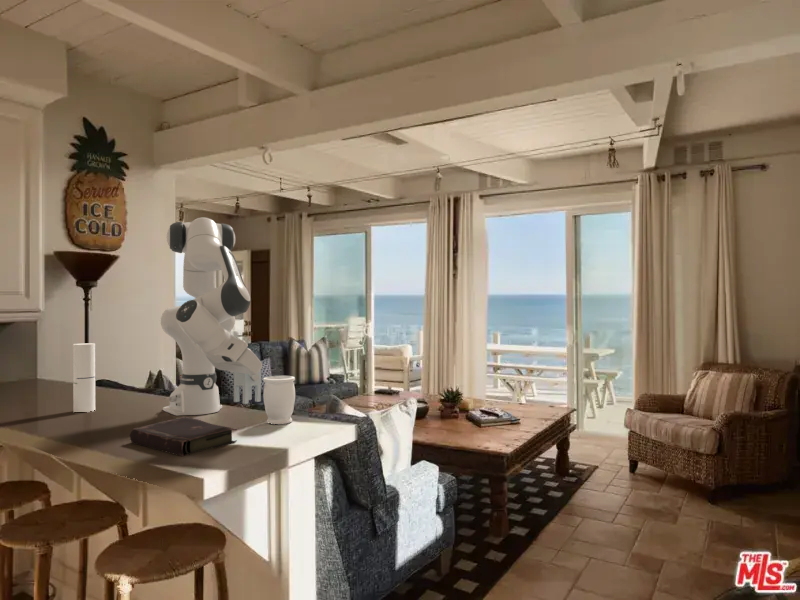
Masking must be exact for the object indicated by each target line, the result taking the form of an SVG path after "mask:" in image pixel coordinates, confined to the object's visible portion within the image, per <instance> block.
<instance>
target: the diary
mask: <svg viewBox="0 0 800 600" xmlns="http://www.w3.org/2000/svg"><path fill="white" fill-rule="evenodd" d="M232 431H237V428H234V427H229V426H225V425H219V424H214V423H210V422H207V421H203V420H201V419H199V418H191V417H187V416H183V417H179V418H173V419H168V420H164V421H158V422H155V423H151V424H148V425H147V424H146V425H143V426H140V427H135V428H132V429H131V432H130V435H129V438H130V439H129V440H130V442H131V443H132V444H135V445H138V444H139V446H142V445H143V446H144V447H148V448H150V449H153V448H154V450H157V449H159V450H158V451H161V450H163V451H162V452H165V451H167V452H166V453H169V452H170V453H169V454H172V453H174V454H173V455H176V454H177V455H176V456H179V455H180V457H185V455H189V454H192V453H197V452H200V451H204V450H208V449H217V448H220V447H225V446H228V445H232V444H235V443H236V442H237V441H238V439H236V440H233V437H232V436H233V433H232ZM184 454H185V455H184Z"/></svg>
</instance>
